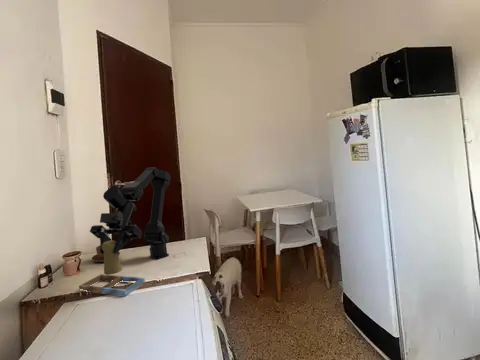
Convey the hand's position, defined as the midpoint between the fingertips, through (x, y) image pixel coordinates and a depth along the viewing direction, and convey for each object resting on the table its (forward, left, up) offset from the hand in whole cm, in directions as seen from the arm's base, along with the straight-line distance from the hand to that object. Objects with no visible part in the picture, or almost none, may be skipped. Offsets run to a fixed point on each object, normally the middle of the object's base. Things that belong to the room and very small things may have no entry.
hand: (107, 253), depth 119 cm
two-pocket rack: (-1, -2, -13) cm, 13 cm away
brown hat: (-13, -36, -14) cm, 41 cm away
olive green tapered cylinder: (-1, -1, -7) cm, 7 cm away
